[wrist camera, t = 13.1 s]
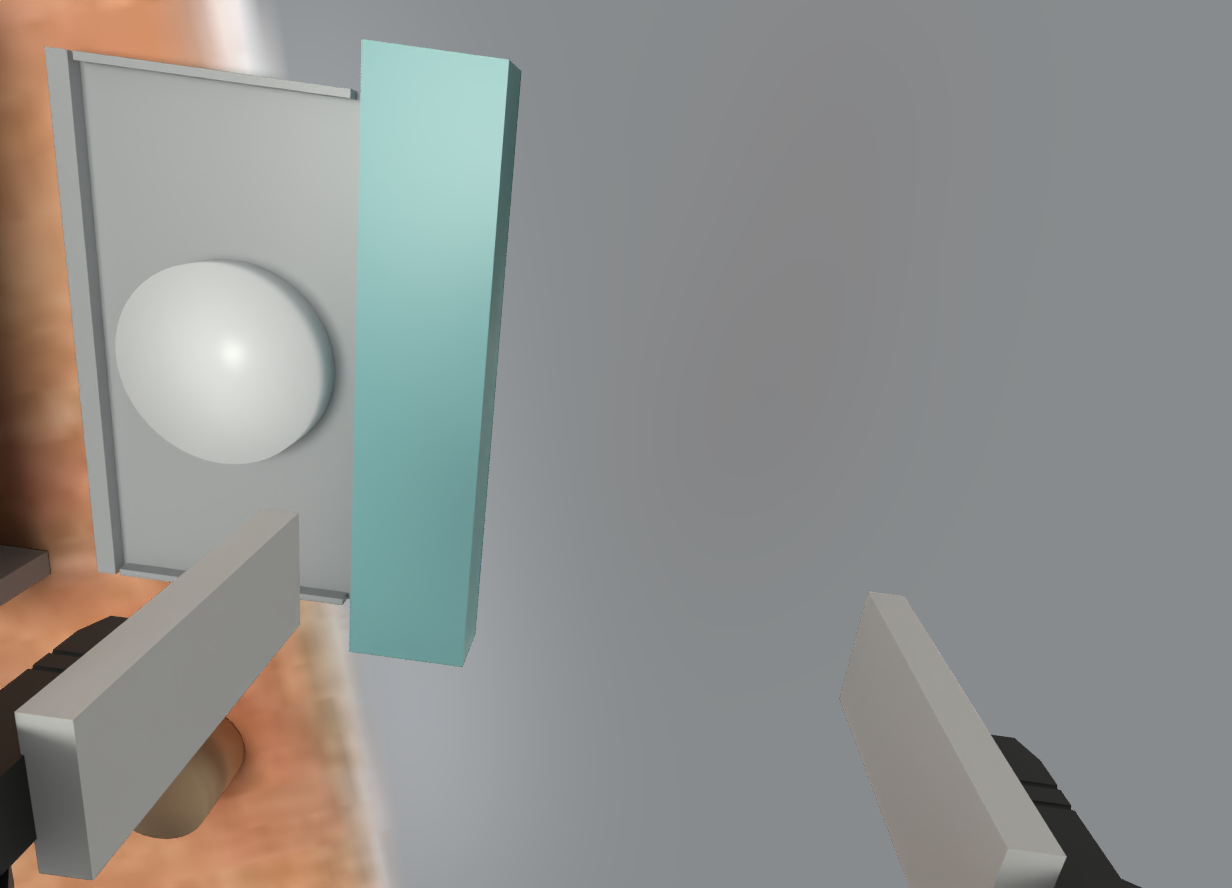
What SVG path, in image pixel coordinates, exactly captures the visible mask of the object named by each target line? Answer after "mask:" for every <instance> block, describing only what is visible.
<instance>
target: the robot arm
mask: <svg viewBox="0 0 1232 888" xmlns="http://www.w3.org/2000/svg"><path fill="white" fill-rule="evenodd" d="M299 625H300V581H299V512H292V511H284V510H277V509H270V508H262V509H261V510H260V511H259V512H257V513H256V514H255V515H254V516H253V517H251V518H250V519H249V520H248V521H246V522H245V523H244V524H243V525H242V526H240V527H239V528H238V529H237V530H235V531H234V532H233V533H232V534H231V535H229V536H228V537H227V538H226V539H225V540H223V541H222V542H221V543H220V544H218V545H217V546H216V547H215V548H214V549H212V550H211V551H210V552H209V553H207V554H206V555H205V556H204V557H203V558H201V559H200V560H199V561H198V562H197V563H195V564H194V565H193V566H192V567H190V568H189V569H188V570H187V571H186V572H184V573H183V574H182V575H181V576H179V577H178V578H177V579H176V580H175V581H173V582H172V583H171V584H170V585H168V586H167V587H166V588H165V589H164V590H162V591H161V592H160V593H159V594H158V595H156V596H155V597H154V598H153V599H151V600H150V601H149V602H148V603H147V604H145V605H144V606H143V607H142V608H140V609H139V610H138V611H137V612H136V613H134V614H133V615H132V616H131V617H130V618H123V617H116V616H109V617H107V618H105V619H103V620H100V621H98V622H96V623H94V624H91V625H89V626H87V627H85V628H82V629H80V630H78V631H77V632H75V633H74V634H73V635H71V636H70V637H69V638H68V639H66V640H65V641H64V642H62V643H61V644H60V645H58V646H57V647H56V648H55V649H53V653H52V654H51V653H48V654H47V655H45V656H44V657H43V658H42V659H40V660H39V661H38V662H36V663H35V664H34V665H33V668H32V669H27V670H26V671H25V672H23V673H22V674H21V675H19V676H18V677H17V678H16V679H14V680H13V681H12V682H10V683H9V684H8V685H6V686H5V687H4V688H3V689H1V690H0V888H14V881H13V875H12V869H11V865H12V864H13V863H14V862H15V861H16V860H17V859H18V858H19V857H20V856H21V855H22V854H23V853H24V851H25V850H26V849H27V848H28V847H29V846H30V845H31V844H32V843H33V842H34V843H35V850H36V856H37V863H38V869H39V873H42V874H49V875H56V876H64V877H71V878H78V879H85V880H94V879H95V877H96V876H97V875H98V874H99V872H100V871H101V870H102V869H103V867H104V866H105V865H106V864H107V862H108V861H109V860H110V859H111V858H112V856H113V855H114V854H115V853H116V851H117V850H118V849H119V848H120V846H121V845H122V844H123V843H124V841H125V840H126V839H127V838H128V836H129V835H130V834H131V833H132V831H133V830H134V829H135V828H136V827H137V825H138V824H139V823H140V822H141V820H142V819H143V818H144V817H145V815H146V814H147V813H148V812H149V810H150V809H151V808H152V807H153V805H154V804H155V803H156V802H157V801H158V799H159V798H160V797H161V796H162V794H163V793H164V792H165V791H166V789H167V788H168V787H169V786H170V784H171V783H172V782H173V781H174V779H175V778H176V777H177V776H178V775H179V773H180V772H181V771H182V770H183V768H184V767H185V766H186V765H187V763H188V762H189V761H190V760H191V758H192V757H193V756H194V755H195V753H196V752H197V751H198V750H199V749H200V747H201V746H202V745H203V744H204V742H205V741H206V740H207V739H208V737H209V736H210V735H211V734H212V732H213V731H214V730H215V729H216V727H217V726H218V725H219V724H220V723H221V721H222V720H223V719H224V718H225V716H226V715H227V714H228V713H229V711H230V710H231V709H232V708H233V706H234V705H235V704H236V703H237V701H238V700H239V699H240V698H241V697H242V695H243V694H244V693H245V692H246V690H247V689H248V688H249V687H250V685H251V684H252V683H253V682H254V680H255V679H256V678H257V677H258V675H259V674H260V673H261V672H262V671H263V669H264V668H265V667H266V666H267V664H268V663H269V662H270V661H271V659H272V658H273V657H274V656H275V654H276V653H277V652H278V651H279V649H280V648H281V647H282V646H283V644H284V643H285V642H286V641H287V640H288V638H289V637H290V636H291V635H292V633H293V632H294V631H295V630H296V628H297V627H298V626H299ZM839 699H840V702H841V704H842V707H843V710H844V713H845V715H846V717H847V721H848V723H849V726H850V728H851V731H852V734H853V737H854V739H855V742H856V745H857V747H858V750H859V753H860V755H861V758H862V761H863V764H864V767H865V769H866V772H867V775H868V777H869V780H870V783H871V786H872V788H873V791H874V794H875V796H876V799H877V801H878V804H879V807H880V810H881V812H882V815H883V818H884V820H885V823H886V826H887V829H888V832H889V834H890V837H891V840H892V842H893V845H894V848H895V850H896V853H897V856H898V859H899V861H900V864H901V867H902V869H903V872H904V875H905V877H906V880H907V883H908V886H909V888H1141V887H1139V886H1136V885H1134V884H1132V883H1130V882H1127V881H1125V880H1123V879H1121V878H1120V877H1119V875H1118V874H1117V873H1116V871H1115V869H1114V868H1113V866H1112V865H1111V863H1110V862H1109V860H1108V859H1107V857H1106V856H1105V855H1104V853H1103V852H1102V850H1101V849H1100V847H1099V846H1098V844H1097V843H1096V841H1095V840H1094V839H1093V837H1092V835H1091V834H1090V833H1089V831H1088V830H1087V828H1086V827H1085V825H1084V824H1083V822H1082V821H1081V820H1080V818H1079V817H1078V815H1077V813H1076V812H1075V811H1073V810H1071V805H1070V803H1069V802H1068V800H1067V799H1066V798H1065V796H1064V794H1063V793H1062V791H1061V790H1058V789H1057V784H1056V783H1055V781H1054V780H1053V778H1052V777H1051V775H1050V774H1049V772H1048V771H1047V770H1046V768H1045V767H1044V765H1043V764H1042V762H1041V761H1040V760H1039V759H1038V758H1037V757H1036V756H1034V755H1033V754H1032V753H1031V752H1030V751H1029V750H1028V749H1026V748H1025V747H1024V746H1023V745H1022V744H1021V743H1019V742H1018V741H1017V740H1016V739H1015V738H1011V737H1003V736H996V735H991V734H990V733H989V731H988V730H987V728H986V727H985V725H984V723H983V722H982V720H981V719H980V717H979V716H978V714H977V712H976V710H975V709H974V707H973V706H972V704H971V702H970V701H969V699H968V698H967V696H966V694H965V693H964V691H963V689H962V688H961V686H960V685H959V683H958V681H957V680H956V678H955V677H954V675H953V674H952V672H951V670H950V669H949V667H948V666H947V664H946V662H945V661H944V659H943V658H942V656H941V654H940V653H939V651H938V649H937V648H936V646H935V645H934V643H933V641H932V640H931V638H930V637H929V635H928V633H927V632H926V630H925V629H924V627H923V625H922V624H921V622H920V620H919V619H918V617H917V616H916V614H915V613H914V611H913V609H912V608H911V606H910V605H909V603H908V601H907V600H906V598H905V597H904V596H902V595H894V594H888V593H880V592H873V591H868V594H867V598H866V602H865V605H864V609H863V613H862V616H861V620H860V624H859V627H858V632H857V635H856V639H855V642H854V646H853V650H852V654H851V657H850V661H849V665H848V668H847V672H846V676H845V680H844V683H843V687H842V690H841V694H840V698H839Z"/></svg>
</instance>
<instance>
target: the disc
mask: <svg viewBox="0 0 1232 888" xmlns="http://www.w3.org/2000/svg"><path fill="white" fill-rule="evenodd" d="M115 353H116V361H117V367H118V371H119V374H120V378H121V381H122V383H123V386H124V388H125V391H126V393H127V395H128V397H129V398H130V400H131V402H132V404H133V405H134V407H135V408H136V410H137V411H138V413H139V414H140V415H141V417H142V418H143V419H144V420H145V421H146V422H147V424H148V425H149V426H150V427H151V428H152V429H153V430H154V431H156V432H157V433H158V434H159V435H160V436H161V437H163V438H164V439H165V440H166V441H168V442H169V443H171V444H172V445H174V446H175V447H177V448H179V449H180V450H182V451H184V452H186V453H188V454H191V455H193V456H195V457H198V458H201V459H204V460H207V461H212V462H216V463H223V464H247V463H253V462H258V461H261V460H265V459H268V458H270V457H272V456H274V455H276V454H278V453H280V452H281V451H283V450H284V449H286V448H287V447H289V446H290V445H292V444H293V443H295V442H296V441H297V440H299V439H300V438H302V437H303V436H304V435H306V434H307V433H308V432H309V431H310V430H311V429H312V428H313V427H314V426H315V425H316V424H317V423H318V421H319V420H320V419H321V417H322V416H323V414H324V412H325V411H326V409H327V406H328V404H329V401H330V399H331V395H332V391H333V387H334V378H335V366H334V357H333V351H332V347H331V344H330V340H329V337H328V335H327V332H326V330H325V328H324V325H323V324H322V322H321V320H320V318H319V317H318V315H317V313H316V312H315V310H314V309H313V308H312V306H311V305H310V304H309V302H308V301H307V300H306V299H305V298H304V297H303V296H302V295H301V294H300V293H299V292H298V291H297V290H296V289H295V288H294V287H293V286H291V285H290V284H289V283H288V282H286V281H285V280H283V279H282V278H280V277H279V276H277V275H276V274H274V273H272V272H270V271H268V270H266V269H264V268H262V267H259V266H256V265H253V264H251V263H246V262H242V261H238V260H228V259H216V260H206V261H200V262H194V263H188V264H182V265H177V266H173V267H170V268H167V269H164V270H162V271H160V272H158V273H156V274H154V275H152V276H151V277H150V278H148V279H147V280H146V281H144V282H143V283H142V284H141V285H140V286H139V287H138V288H137V289H136V290H135V291H134V292H133V293H132V295H131V296H130V298H129V299H128V301H127V302H126V304H125V306H124V308H123V310H122V312H121V315H120V318H119V321H118V325H117V331H116V338H115Z"/></svg>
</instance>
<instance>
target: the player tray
mask: <svg viewBox="0 0 1232 888" xmlns="http://www.w3.org/2000/svg"><path fill="white" fill-rule="evenodd" d="M361 45H362V46H361V92H359V91H355V90H352V89H346V88H339V87H332V86H325V85H318V84H311V83H303V82H295V81H289V80H282V79H275V78H267V77H260V76H253V75H246V74H239V73H231V72H224V71H217V70H210V69H203V68H195V67H188V66H181V65H174V64H167V63H159V62H152V61H145V60H138V59H131V58H123V57H116V56H109V55H102V54H95V53H87V52H80V51H73V50H72V51H70V50H66V49H59V48H51V47H45V57H46V67H47V77H48V87H49V96H50V106H51V116H52V126H53V136H54V146H55V155H56V165H57V175H58V185H59V195H60V205H61V214H62V224H63V234H64V244H65V254H66V264H67V273H68V283H69V293H70V303H71V313H72V323H73V332H74V342H75V352H76V362H77V372H78V382H79V391H80V401H81V411H82V421H83V431H84V441H85V450H86V460H87V470H88V480H89V490H90V500H91V509H92V519H93V529H94V539H95V549H96V559H97V568H98V572H102V573H109V574H117V573H118V572H120V575H124V576H131V577H139V578H146V579H153V580H161V581H168V582H173V581H175V580H176V579H177V578H178V577H179V576H181V575H182V574H183V573H184V572H186V571H187V570H188V569H189V568H190V567H192V566H193V565H194V564H195V563H197V562H198V561H199V560H200V559H201V558H203V557H204V556H205V555H206V554H207V553H209V552H210V551H211V550H212V549H214V548H215V547H216V546H217V545H218V544H220V543H221V542H222V541H223V540H225V539H226V538H227V537H228V536H229V535H231V534H232V533H233V532H234V531H235V530H237V529H238V528H239V527H240V526H242V525H243V524H244V523H245V522H246V521H248V520H249V519H250V518H251V517H253V516H254V515H255V514H256V513H257V512H259V511H260V510H261V509H262V508H270V509H277V510H284V511H292V512H299V581H300V600H308V601H315V602H322V603H330V604H337V605H343V604H344V602H345V601H346V599H347V598H349V599H350V648H349V652H356V653H363V654H371V655H378V656H385V657H393V658H400V659H407V660H415V661H423V662H430V663H437V664H444V665H452V666H459V667H463V664H464V662H465V659H466V656H467V653H468V651H469V649H470V646H471V643H472V641H473V638H474V636H475V630H476V619H477V607H478V595H479V582H480V569H481V558H482V546H483V534H484V521H485V508H486V497H487V484H488V472H489V460H490V448H491V436H492V424H493V411H494V398H495V387H496V374H497V362H498V350H499V338H500V325H501V314H502V301H503V288H504V277H505V265H506V252H507V241H508V228H509V216H510V204H511V191H512V179H513V166H514V155H515V143H516V142H515V141H516V129H517V118H518V106H519V94H520V82H521V81H520V80H521V70H520V69H518V68H517V67H516V66H515V65H514V64H513V63H512V62H511V61H510V60H507V59H500V58H493V57H485V56H479V55H472V54H464V53H457V52H450V51H443V50H435V49H428V48H421V47H414V46H407V45H400V44H391V43H385V42H378V41H371V40H363V39H362V44H361ZM216 259H228V260H238V261H242V262H246V263H251V264H253V265H256V266H259V267H262V268H264V269H266V270H268V271H270V272H272V273H274V274H276V275H277V276H279V277H280V278H282V279H283V280H285V281H286V282H288V283H289V284H290V285H291V286H293V287H294V288H295V289H296V290H297V291H298V292H299V293H300V294H301V295H302V296H303V297H304V298H305V299H306V300H307V301H308V302H309V304H310V305H311V306H312V308H313V309H314V310H315V312H316V313H317V315H318V317H319V318H320V320H321V322H322V324H323V325H324V328H325V330H326V332H327V335H328V337H329V340H330V344H331V347H332V351H333V357H334V366H335V378H334V387H333V391H332V395H331V399H330V401H329V404H328V406H327V409H326V411H325V412H324V414H323V416H322V417H321V419H320V420H319V421H318V423H317V424H316V425H315V426H314V427H313V428H312V429H311V430H310V431H309V432H308V433H307V434H306V435H304V436H303V437H302V438H300V439H299V440H297V441H296V442H295V443H293V444H292V445H290V446H289V447H287V448H286V449H284V450H283V451H281V452H280V453H278V454H276V455H274V456H272V457H270V458H268V459H265V460H261V461H258V462H253V463H247V464H223V463H216V462H212V461H207V460H204V459H201V458H198V457H195V456H193V455H191V454H188V453H186V452H184V451H182V450H180V449H179V448H177V447H175V446H174V445H172V444H171V443H169V442H168V441H166V440H165V439H164V438H163V437H161V436H160V435H159V434H158V433H157V432H156V431H154V430H153V429H152V428H151V427H150V426H149V425H148V424H147V422H146V421H145V420H144V419H143V418H142V417H141V415H140V414H139V413H138V411H137V410H136V408H135V407H134V405H133V404H132V402H131V400H130V398H129V397H128V395H127V393H126V391H125V388H124V386H123V383H122V381H121V378H120V374H119V371H118V367H117V361H116V353H115V338H116V331H117V325H118V321H119V318H120V315H121V312H122V310H123V308H124V306H125V304H126V302H127V301H128V299H129V298H130V296H131V295H132V293H133V292H134V291H135V290H136V289H137V288H138V287H139V286H140V285H141V284H142V283H143V282H144V281H146V280H147V279H148V278H150V277H151V276H152V275H154V274H156V273H158V272H160V271H162V270H164V269H167V268H170V267H173V266H177V265H182V264H188V263H194V262H200V261H206V260H216Z"/></svg>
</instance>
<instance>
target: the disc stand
mask: <svg viewBox="0 0 1232 888" xmlns="http://www.w3.org/2000/svg"><path fill="white" fill-rule="evenodd" d="M244 754H245V750H244V744H243V741H242V738H241V736H240V734H239V732H238V731H237V729H236V728H235V727H234V725H233V724H232V723H231V722H230V721H229V720H227V719H226V718H224V719H223V720H222V721H221V723H220V724H219V725H218V726H217V727H216V729H215V730H214V731H213V732H212V734H211V735H210V736H209V737H208V739H207V740H206V741H205V742H204V744H203V745H202V746H201V747H200V749H199V750H198V751H197V752H196V753H195V755H194V756H193V757H192V758H191V760H190V761H189V762H188V763H187V765H186V766H185V767H184V768H183V770H182V771H181V772H180V773H179V775H178V776H177V777H176V778H175V779H174V781H173V782H172V783H171V784H170V786H169V787H168V788H167V789H166V791H165V792H164V793H163V794H162V796H161V797H160V798H159V799H158V801H157V802H156V803H155V804H154V805H153V807H152V808H151V809H150V810H149V812H148V813H147V814H146V815H145V817H144V818H143V819H142V820H141V822H140V823H139V824H138V825H137V827H136V828H135V829H134V830H133V831H135V832H137V833H140V834H142V835H145V836H149V837H154V838H161V839H171V838H178V837H182V836H185V835H187V834H189V833H191V832H193V831H194V830H195V829H197V828H198V827H199V826H200V824H201V823H202V822H203V820H204V819H205V817H206V816H207V815H208V813H209V812H210V810H211V809H212V807H213V806H214V805H215V803H216V802H217V800H218V799H219V798H220V796H221V795H222V793H223V792H224V790H225V789H226V788H227V786H228V785H229V783H230V782H231V781H232V779H233V778H234V776H235V775H236V773H237V772H238V771H239V769H240V767H241V766H242V763H243V761H244Z"/></svg>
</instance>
